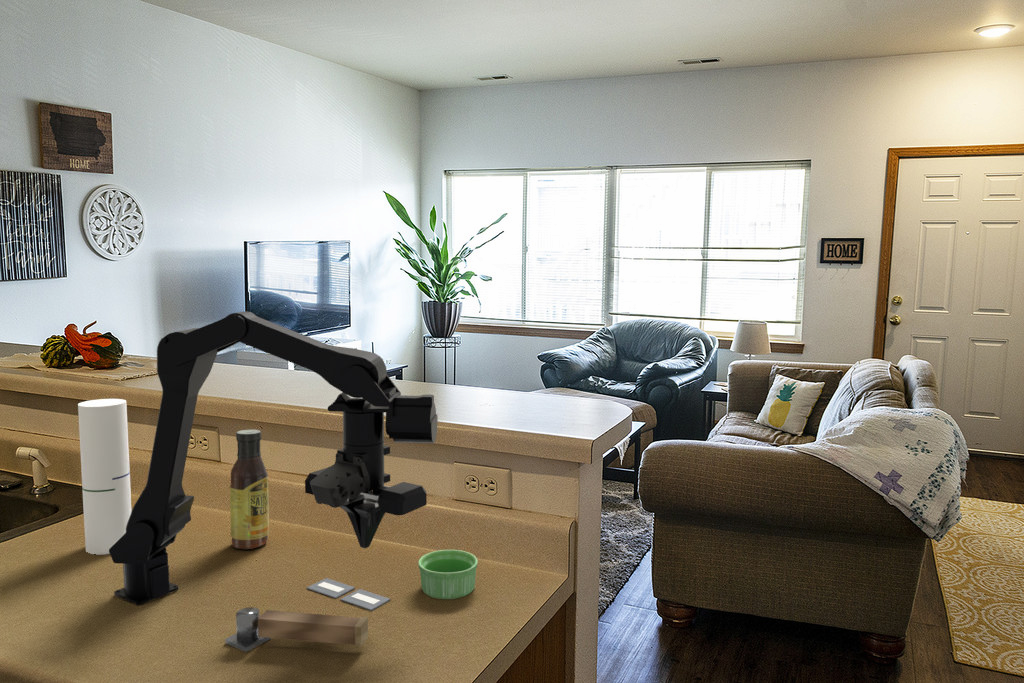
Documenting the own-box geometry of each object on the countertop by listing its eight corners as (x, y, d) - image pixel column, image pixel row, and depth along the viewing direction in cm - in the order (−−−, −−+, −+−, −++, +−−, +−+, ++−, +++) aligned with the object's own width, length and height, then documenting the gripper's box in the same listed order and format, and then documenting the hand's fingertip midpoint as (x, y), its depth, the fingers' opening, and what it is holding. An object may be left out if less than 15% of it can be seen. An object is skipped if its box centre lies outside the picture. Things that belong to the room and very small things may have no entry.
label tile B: (340, 600, 109) (340, 598, 109) (359, 590, 113) (359, 588, 113) (371, 610, 106) (371, 609, 106) (390, 600, 109) (390, 598, 109)
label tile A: (306, 588, 113) (306, 586, 113) (326, 579, 116) (326, 577, 116) (335, 598, 110) (335, 596, 110) (355, 588, 113) (355, 586, 113)
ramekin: (444, 571, 120) (444, 544, 120) (489, 585, 115) (489, 558, 114) (405, 591, 113) (405, 563, 112) (451, 607, 108) (451, 578, 107)
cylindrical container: (141, 544, 129) (135, 401, 127) (100, 557, 123) (92, 408, 121) (118, 535, 133) (111, 397, 131) (77, 548, 127) (69, 403, 125)
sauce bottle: (257, 552, 126) (253, 437, 124) (223, 549, 128) (219, 435, 125) (276, 538, 133) (274, 428, 131) (244, 535, 134) (241, 426, 132)
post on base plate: (225, 643, 97) (224, 614, 96) (251, 630, 100) (250, 602, 100) (245, 652, 95) (244, 622, 94) (271, 638, 98) (270, 610, 98)
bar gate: (257, 637, 96) (257, 618, 95) (267, 627, 98) (266, 608, 98) (361, 646, 94) (360, 626, 93) (368, 636, 96) (367, 617, 96)
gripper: (273, 443, 105) (276, 551, 107) (373, 464, 95) (375, 582, 97) (332, 429, 114) (334, 528, 116) (428, 446, 104) (429, 554, 106)
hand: (365, 547), depth 108 cm, fingers closed
